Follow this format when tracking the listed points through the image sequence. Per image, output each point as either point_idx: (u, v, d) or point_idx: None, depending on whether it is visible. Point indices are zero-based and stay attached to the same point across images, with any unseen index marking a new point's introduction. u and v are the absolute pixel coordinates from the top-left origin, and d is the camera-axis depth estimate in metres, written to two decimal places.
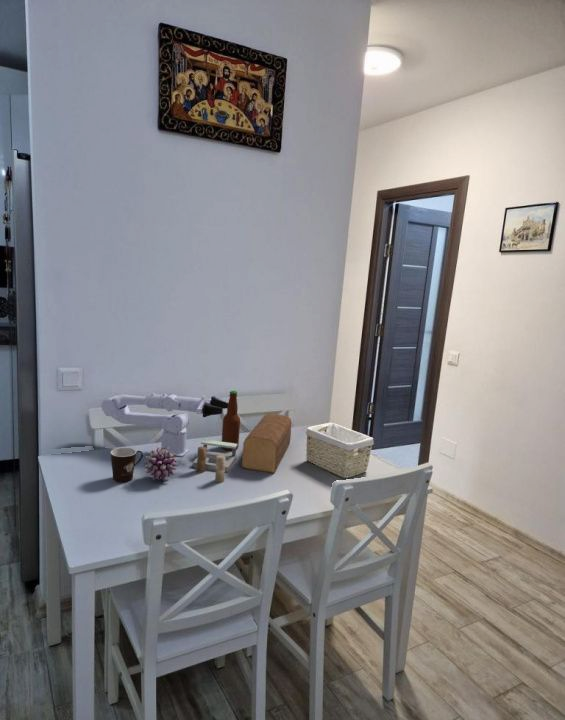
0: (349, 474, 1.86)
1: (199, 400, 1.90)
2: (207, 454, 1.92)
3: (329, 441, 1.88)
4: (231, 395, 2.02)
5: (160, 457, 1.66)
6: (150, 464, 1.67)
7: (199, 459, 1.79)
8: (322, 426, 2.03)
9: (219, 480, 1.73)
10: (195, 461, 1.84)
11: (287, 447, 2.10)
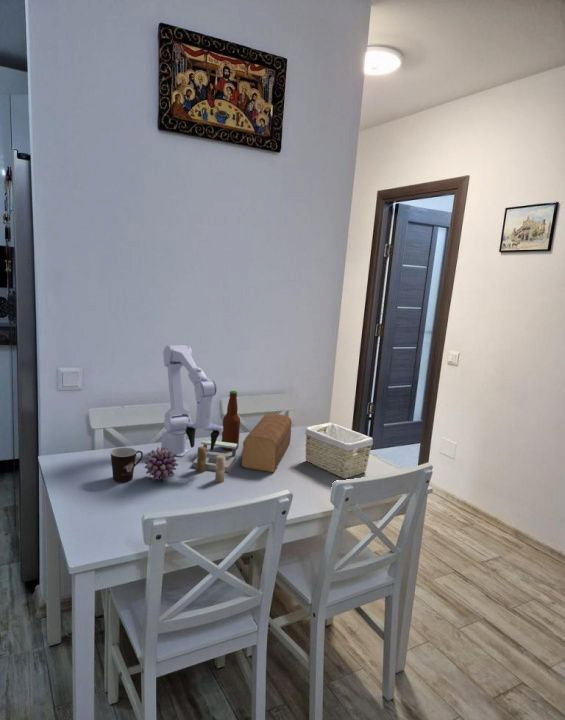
0: (348, 474, 1.86)
1: (198, 423, 1.76)
2: (207, 454, 1.92)
3: (328, 441, 1.88)
4: (231, 395, 2.02)
5: (160, 457, 1.66)
6: (150, 464, 1.67)
7: (199, 459, 1.79)
8: (321, 426, 2.02)
9: (219, 480, 1.73)
10: (195, 461, 1.84)
11: (287, 447, 2.10)
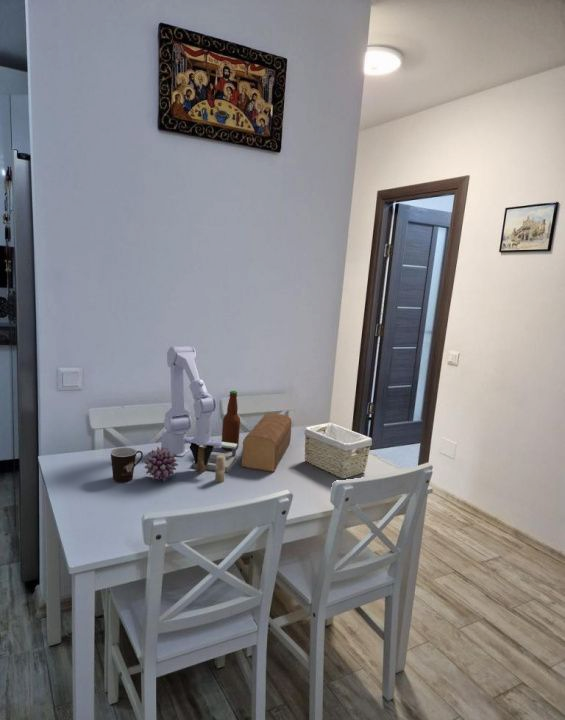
0: (347, 474, 1.85)
1: (197, 439, 1.77)
2: None
3: (327, 441, 1.87)
4: (231, 395, 2.02)
5: (160, 457, 1.66)
6: (150, 464, 1.67)
7: (199, 459, 1.79)
8: (321, 426, 2.02)
9: (219, 480, 1.73)
10: None
11: (287, 446, 2.11)
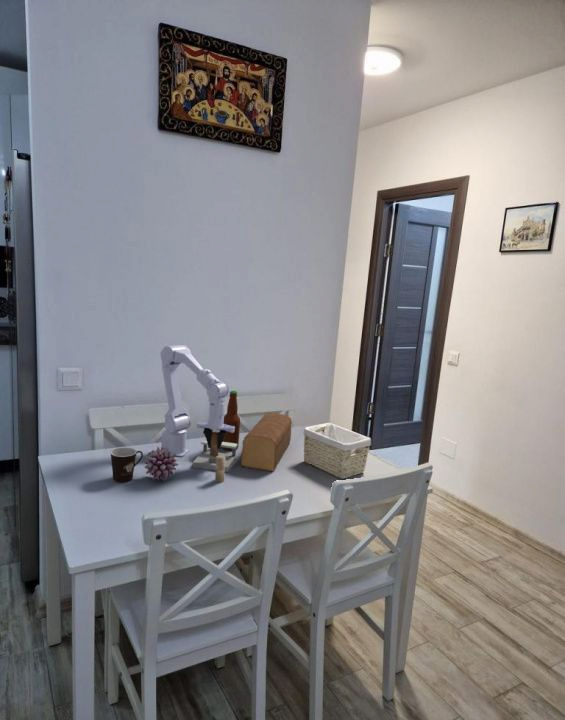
0: (346, 475, 1.85)
1: (210, 423, 1.81)
2: (207, 454, 1.92)
3: (326, 441, 1.87)
4: (231, 395, 2.02)
5: (160, 457, 1.66)
6: (150, 464, 1.67)
7: (212, 443, 1.84)
8: (320, 426, 2.02)
9: (219, 480, 1.73)
10: (195, 461, 1.84)
11: (287, 446, 2.11)
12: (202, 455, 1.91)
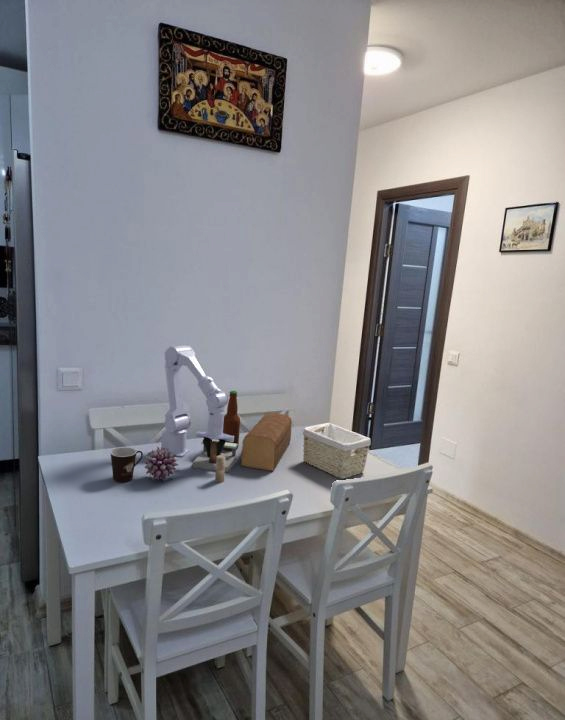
0: (346, 475, 1.85)
1: (210, 433, 1.82)
2: None
3: (326, 441, 1.87)
4: (231, 395, 2.02)
5: (160, 457, 1.66)
6: (150, 464, 1.67)
7: (211, 453, 1.84)
8: (319, 426, 2.02)
9: (219, 480, 1.73)
10: (195, 461, 1.84)
11: (287, 446, 2.11)
12: (202, 455, 1.91)
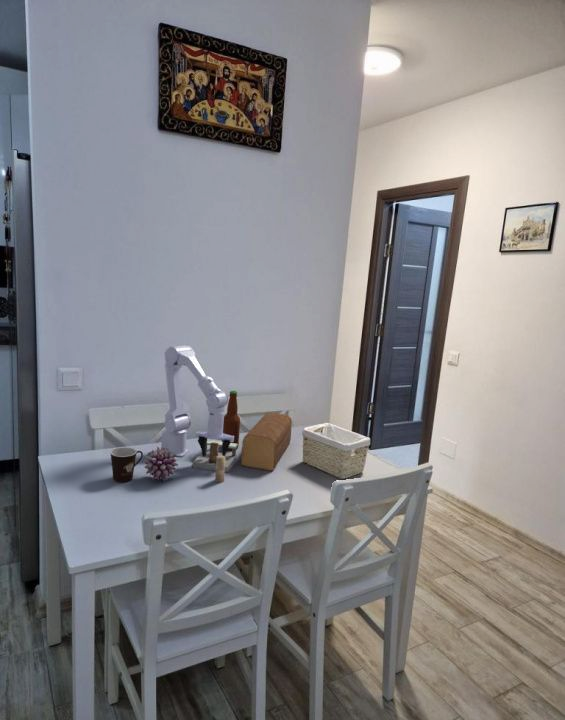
0: (346, 475, 1.85)
1: (210, 433, 1.82)
2: (207, 454, 1.92)
3: (326, 441, 1.87)
4: (231, 395, 2.02)
5: (160, 457, 1.66)
6: (150, 464, 1.67)
7: (211, 454, 1.84)
8: (318, 427, 2.01)
9: (219, 480, 1.73)
10: (195, 461, 1.84)
11: (287, 446, 2.12)
12: (202, 455, 1.91)
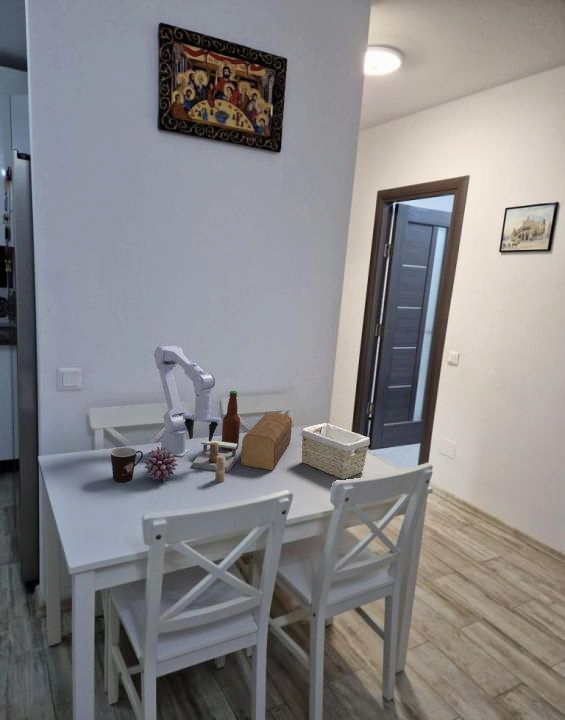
0: (347, 475, 1.85)
1: (196, 415, 1.81)
2: (207, 454, 1.92)
3: (326, 442, 1.86)
4: (231, 395, 2.02)
5: (160, 457, 1.66)
6: (150, 464, 1.67)
7: (211, 454, 1.84)
8: (317, 427, 2.01)
9: (219, 480, 1.73)
10: (195, 461, 1.84)
11: (287, 445, 2.12)
12: (202, 455, 1.91)
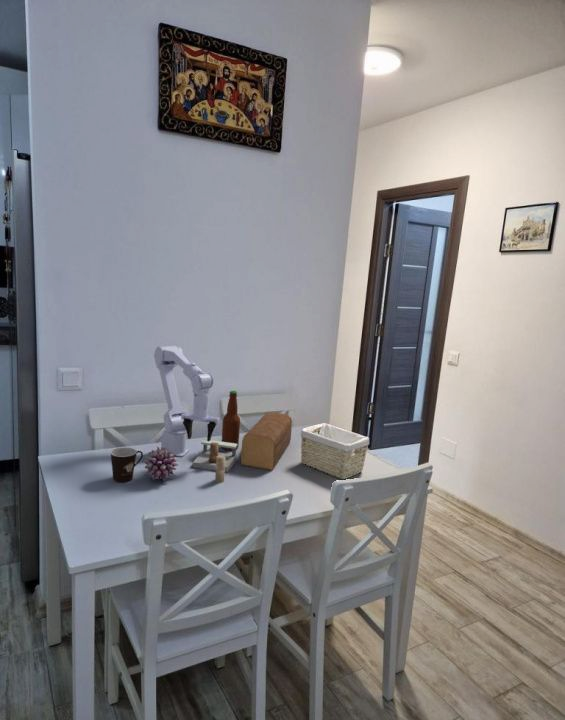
0: (347, 475, 1.85)
1: (195, 414, 1.81)
2: (207, 454, 1.92)
3: (326, 442, 1.86)
4: (231, 395, 2.02)
5: (160, 457, 1.66)
6: (150, 464, 1.67)
7: (211, 454, 1.84)
8: (316, 427, 2.00)
9: (219, 480, 1.73)
10: (195, 461, 1.84)
11: (287, 445, 2.12)
12: (202, 455, 1.91)
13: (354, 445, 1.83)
